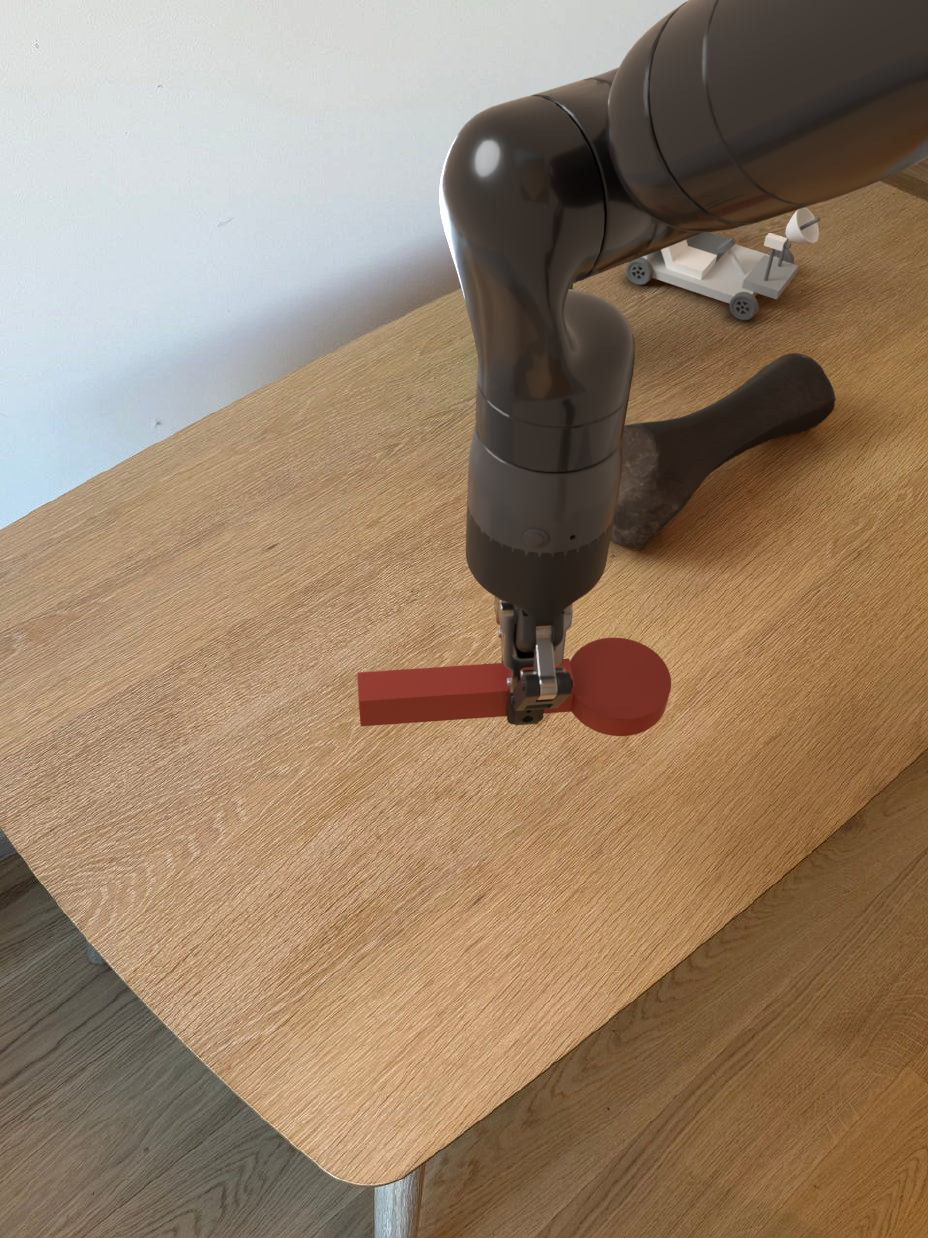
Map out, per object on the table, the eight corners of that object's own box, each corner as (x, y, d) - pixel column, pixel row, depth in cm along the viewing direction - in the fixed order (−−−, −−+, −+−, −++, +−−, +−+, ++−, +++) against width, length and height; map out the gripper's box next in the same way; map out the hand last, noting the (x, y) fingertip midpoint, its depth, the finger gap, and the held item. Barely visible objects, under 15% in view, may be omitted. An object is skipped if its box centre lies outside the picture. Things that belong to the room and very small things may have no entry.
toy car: (837, 199, 116) (798, 248, 110) (812, 281, 124) (775, 332, 117) (681, 154, 122) (635, 198, 116) (667, 235, 130) (623, 280, 123)
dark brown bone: (603, 575, 96) (791, 468, 111) (671, 525, 87) (866, 417, 102) (537, 471, 97) (733, 379, 112) (598, 412, 88) (802, 320, 103)
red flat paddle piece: (362, 755, 66) (359, 730, 64) (357, 671, 70) (355, 645, 68) (676, 732, 67) (684, 707, 65) (654, 651, 71) (661, 625, 69)
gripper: (643, 592, 51) (600, 791, 64) (590, 405, 60) (562, 613, 73) (483, 602, 50) (473, 801, 64) (454, 411, 59) (450, 620, 73)
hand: (520, 699), depth 68 cm, fingers closed on red flat paddle piece, 2 cm apart
